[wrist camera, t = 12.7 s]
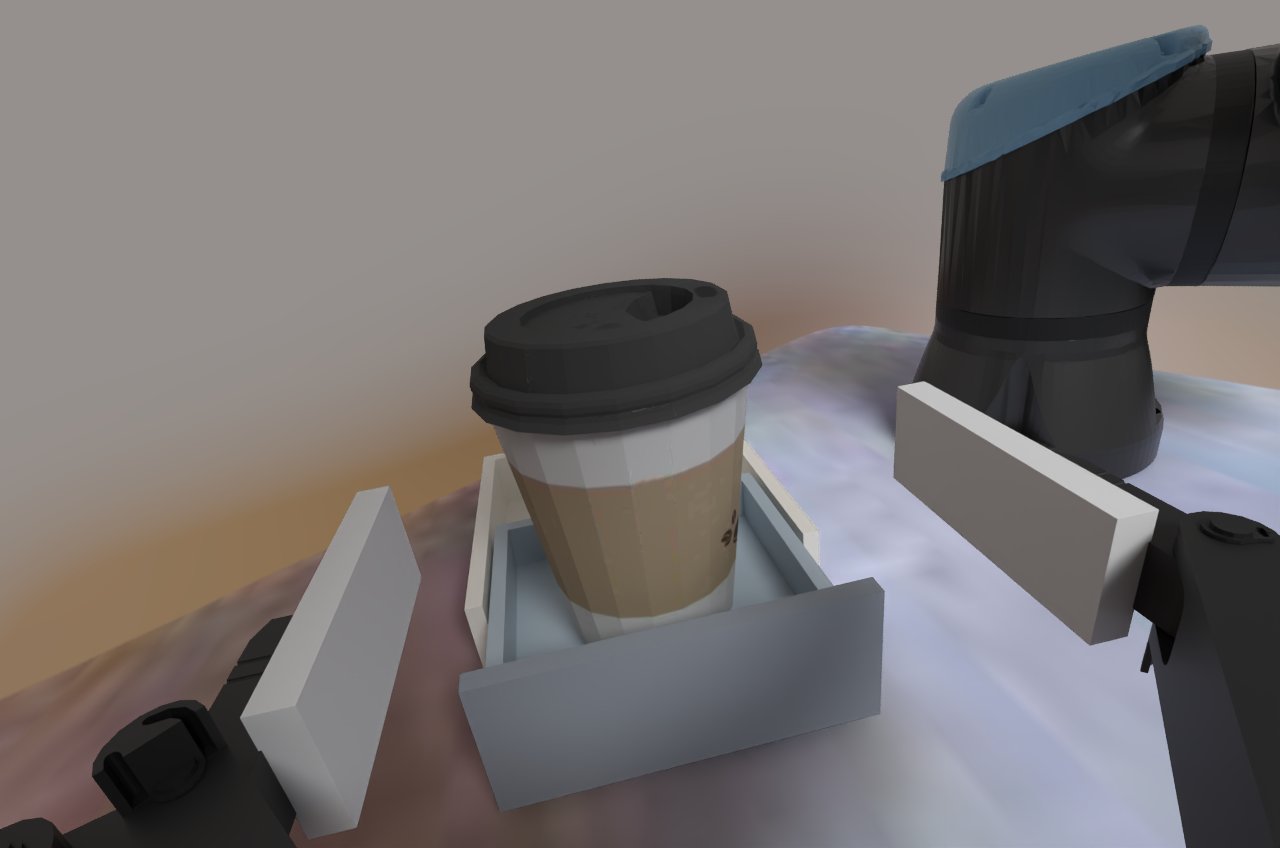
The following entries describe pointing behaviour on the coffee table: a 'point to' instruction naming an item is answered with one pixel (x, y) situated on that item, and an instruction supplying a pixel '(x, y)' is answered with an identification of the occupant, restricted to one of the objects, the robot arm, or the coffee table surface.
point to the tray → (666, 668)
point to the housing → (507, 506)
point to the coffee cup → (626, 443)
